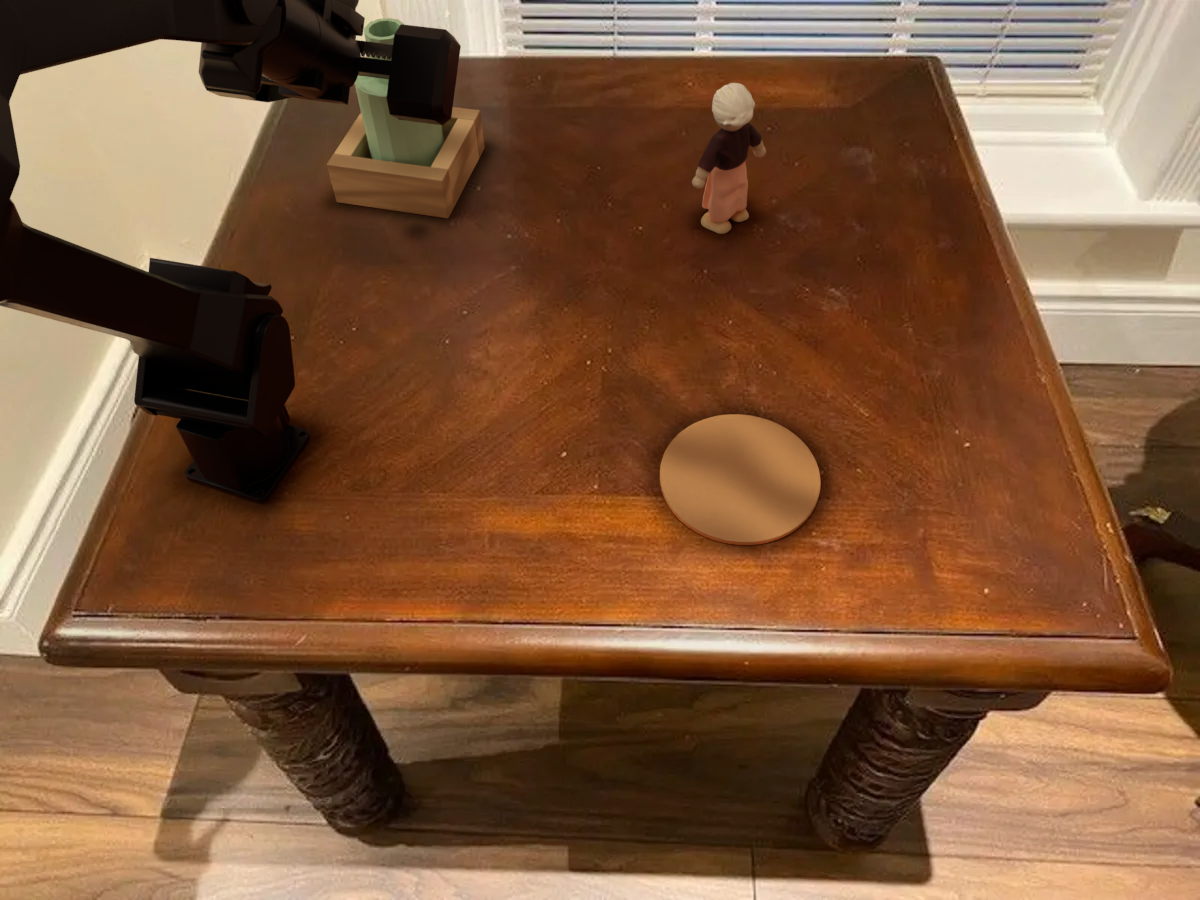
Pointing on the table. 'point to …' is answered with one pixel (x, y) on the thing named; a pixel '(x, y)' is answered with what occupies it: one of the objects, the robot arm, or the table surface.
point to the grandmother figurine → (728, 159)
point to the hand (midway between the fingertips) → (374, 90)
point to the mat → (740, 479)
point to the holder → (408, 170)
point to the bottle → (381, 128)
